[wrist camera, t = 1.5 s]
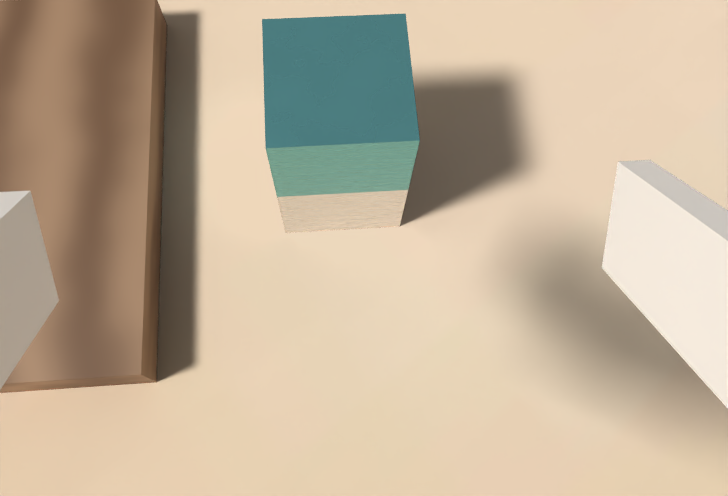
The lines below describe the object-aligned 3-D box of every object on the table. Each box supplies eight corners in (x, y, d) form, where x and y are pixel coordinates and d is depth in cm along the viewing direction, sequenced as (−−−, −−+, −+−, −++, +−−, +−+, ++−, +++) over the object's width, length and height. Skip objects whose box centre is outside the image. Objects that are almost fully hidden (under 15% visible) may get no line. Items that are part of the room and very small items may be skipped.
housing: (390, 125, 43) (405, 13, 32) (399, 226, 40) (419, 140, 30) (282, 131, 42) (262, 19, 32) (285, 233, 40) (265, 148, 30)
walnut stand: (166, 25, 44) (155, -6, 42) (156, 382, 37) (141, 374, 34) (-108, 36, 44) (-139, 5, 41) (-178, 404, 36) (-223, 398, 33)
